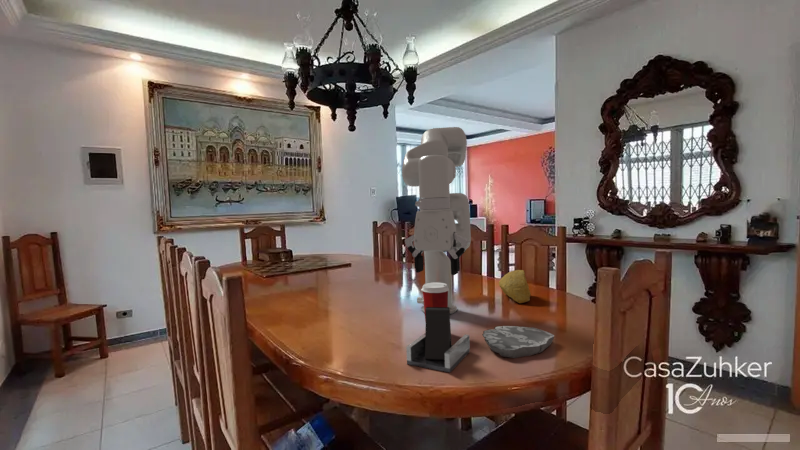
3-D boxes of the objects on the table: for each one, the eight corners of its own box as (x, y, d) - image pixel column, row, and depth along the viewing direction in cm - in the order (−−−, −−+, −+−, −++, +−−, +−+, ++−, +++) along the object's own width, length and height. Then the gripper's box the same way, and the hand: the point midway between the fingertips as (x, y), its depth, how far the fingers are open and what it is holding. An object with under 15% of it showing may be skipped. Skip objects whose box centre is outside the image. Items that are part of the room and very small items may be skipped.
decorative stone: (485, 294, 155) (509, 269, 147) (498, 282, 167) (520, 258, 159) (511, 318, 151) (536, 293, 143) (522, 304, 163) (546, 280, 156)
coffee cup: (452, 330, 122) (451, 282, 121) (447, 339, 114) (445, 288, 113) (426, 328, 124) (425, 281, 123) (419, 337, 117) (417, 287, 116)
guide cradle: (407, 364, 98) (406, 346, 98) (430, 345, 110) (430, 329, 110) (449, 372, 92) (449, 354, 92) (469, 351, 105) (469, 334, 104)
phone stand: (449, 361, 96) (447, 313, 96) (424, 360, 98) (423, 312, 97) (451, 347, 105) (450, 303, 104) (429, 346, 106) (428, 302, 106)
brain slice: (513, 330, 120) (513, 321, 120) (564, 347, 106) (564, 336, 106) (466, 346, 109) (466, 335, 109) (515, 366, 95) (515, 354, 95)
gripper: (397, 206, 100) (399, 273, 101) (462, 205, 91) (464, 278, 92) (411, 205, 106) (413, 268, 107) (472, 203, 98) (474, 272, 99)
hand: (436, 272), depth 100 cm, fingers open, 9 cm apart
